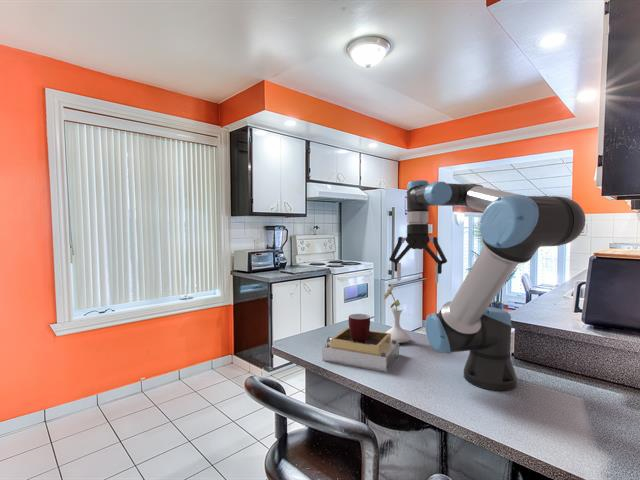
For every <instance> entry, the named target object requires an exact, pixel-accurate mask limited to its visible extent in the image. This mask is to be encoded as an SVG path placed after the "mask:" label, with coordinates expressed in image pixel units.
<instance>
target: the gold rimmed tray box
mask: <svg viewBox="0 0 640 480" xmlns="http://www.w3.org/2000/svg"><path fill="white" fill-rule="evenodd" d="M398 356H400V343H399V341H396V340H391V333H386V332H381V331H375V330H370V337H369V339H367V340H366V341H365V343H359V342H353V340H352V338H351V334H350V328H349V327H345V329H343V330H342V331H340V332H339V333H337V334H336V335H334V336H333V337H330V336H328V337H327V338H326V344H324V345H322V346H321V359H322V361H324V362H329V363H335V364H340V365H346V366H351V367H355V368H362V369H365V370H370V371H372V370H373V371H377V372H383V373H387V372H388V371H389V369H390V368H391V367H392V365H393V364H394V362H395V361H396V359H397V358H398Z"/></svg>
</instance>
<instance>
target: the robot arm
mask: <svg viewBox="0 0 640 480" xmlns="http://www.w3.org/2000/svg"><path fill="white" fill-rule="evenodd" d="M406 187H407V188H406V209H407V211H406V223H407V225H406V237H403V236H398V237H397V244H396V245H395V247H394V249H393V252H392V253H391V255H390V257H389V261H390V262H391V263H394V268H393V269H394V272H396V281H397V282H400V281H401V279H402V278H401V277H402V272H401V271H402V267H401V265H402V264H401V262H400V261H401V259H403V258H404V256H405V255H406V254H407V253H408V252H409V251H410V250H411V249H412V250H424V251H426V252H427V253H428V254H429V256H430V257H431V258H432V259H433V260H434V261H435V263H436V264H435V266H434V278H435V279H434V281H435V283H434V284H438V283H439V275H440V274H442V272H443V271H442V268H443V267H442V266H443V265H444V264H446V263H447V262H448V259H447V258H446V256H445V253H444V252H443V249H442V247H441V246H440V244H439V238H438V237H437V236H434V237H430V236H429V224H428V223H429V207H431V206H432V207H433V206H443V207H444V206H447V207H448V206H449V207H450V206H452V207H454V206H455V207H456V206H457V207H458V206H459V207H460V206H461V207H466V208H468V209H473V210H476V211H479V212H482V215H481V216H480V223H481V225H480V226H479V232H480V235H481V242H482V244H483V247H482V249H481V251H480V253H479V254H478V256H477V257H476V259H475V261H474V263H473V264H472V266H471V268H470V269H469V270H468V273H467V275H466V276H465V278H464V280H463V282H462V283H461V285H460V287H459V288H458V290H457V292H456V294H455V295H454V297H453V298H452V300H450V301H447V302H445V303H444V304H443V305H442V306H441V308H440V310H439V311H438V313H435V312H433V313H430V314H428V315H426V319H425V324H424V327H425V333H426V338H427V340H428V342H429V345H430V346H431V348H432V349H433V350H434V351H435V352H437V353H439V354H450V353H451V354H452V353H460V352H466V351H467V352H469V354H468V357H467V360H466V362H465V365H464V366H463V367H464V368H463V378H464V380H465V381H467V382H468V383H469V384H471V385H473V386H476V387H479V388H481V389H485V390H491V391H497V392H498V391H499V392H500V391H501V392H503V391H504V392H505V391H511V390H514V389H516V388H517V385H518V377H517V374H516V371H515V368H514V365H513V363H512V358H511V357H512V353H511V352H512V327H513V324H512V320H511V319H512V316H511V314H510V313H509V311H507V310H505V309H501V308H497V307H494V306H490V305H491V303H493V301H494V299H495V298H496V296H497V295H498V294H499V292H500V291H501V289H502V288H503V287H504V285H505V283H507V280H508V279H509V278H510V276H511V275H512V273H513V272H514V270H515V269H516V268H517V266H518V265H519V264H525V263H528V262H529V261H530V260H531V259H532V258H533V257H534V255H535V253H536V252H537V251H538V250H539V248H541V247H543V248H544V247H559V246H563V245H566V244H569V243H572V242H573V241H575V240H576V239H577V238H579V236H580V235H581V233H582V232H583V231H584V229H585V227H586V215H585V212H584V210H583V208H582V207H581V205H580V204H579V203H578V202H576V201H575V200H574V199H570V198H567V197H564V196H559V195H558V196H557V195H555V196H553V195H552V196H550V195H539V196H538V195H537V196H536V195H533V196H532V195H531V196H530V195H524V194H519V193H514V192H509V191H505V190H501V189H494V188H490V187H484V186H483V185H481V184H477V183H452V182H451V183H448V182H445V181H433V182H430V183H429V181H428V180H425V179H418V180H411V181H409V182H408V183H407V185H406ZM404 242H406V243H407V245H406V246H405V248H404V249H403V250H402V251H401V252H400V253H399V251H400V249H401V247H402V245H403V243H404ZM429 242H431V244H433V245H434V247H435V250H436V252H437V253H438V255H439V257H440V258H439V257H438V256H437V255H436V253H435V252H434V251H433V250H432V249H431V247H430V246H429V245H428V244H429ZM398 253H399V255H398V256H397V254H398Z"/></svg>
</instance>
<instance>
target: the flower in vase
mask: <svg viewBox="0 0 640 480" xmlns="http://www.w3.org/2000/svg"><path fill="white" fill-rule="evenodd" d="M394 287H395V284H394V283H392V284H390V287H389V288H388V289H387V290H386V293H385V294H384V296H383V298H382V299H383V300H386V299H388V297H389V296H392V299H393V301H394V302H393V303H392V304H391V305H390V310H391V311H392V314H393V326H392V327H391V328H390V329H388V330H387V331H385V333H391V340H396V341H399V344H403V343H407V342H409V341H410V340H411V336H410V334H409V333H408V332H407V331H406V330H405V329H403V328H402V327H401V324H400V319H401V314H402V312H403V310H404V309H403V308H400V307H399V306H400V305H401V303H400V301H399V299H395V297H394V294H393V293H392V291H393V289H394ZM394 306H395V307H394Z"/></svg>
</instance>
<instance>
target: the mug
mask: <svg viewBox="0 0 640 480" xmlns="http://www.w3.org/2000/svg"><path fill="white" fill-rule="evenodd" d="M370 326H371V316H370V315H368V314H363V313H354V314H353V313H352V314H349V316H348V328H350V334H351V338H352V340H353V342H359V343H365V341H366V340H367V339H369V337H370V331H371V330H370Z"/></svg>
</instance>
